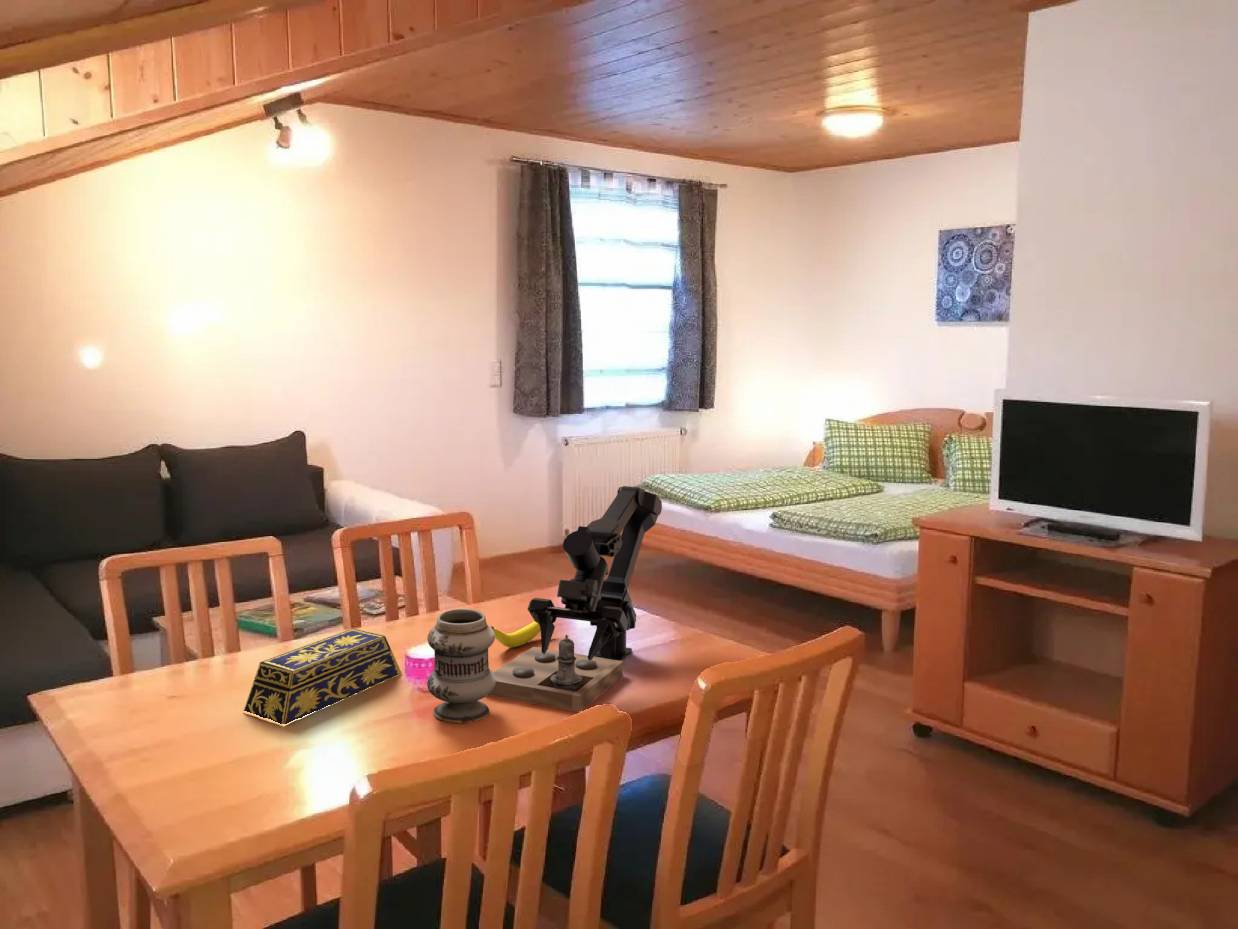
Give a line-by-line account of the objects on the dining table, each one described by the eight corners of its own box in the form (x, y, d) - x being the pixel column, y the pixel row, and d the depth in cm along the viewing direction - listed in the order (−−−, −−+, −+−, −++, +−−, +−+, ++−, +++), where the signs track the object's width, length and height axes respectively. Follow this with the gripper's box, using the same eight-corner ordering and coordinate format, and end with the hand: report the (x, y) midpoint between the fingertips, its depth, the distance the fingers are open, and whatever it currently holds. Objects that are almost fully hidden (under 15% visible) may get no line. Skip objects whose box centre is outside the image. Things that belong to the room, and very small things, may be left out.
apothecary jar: (439, 731, 169) (438, 629, 166) (419, 706, 180) (417, 610, 177) (505, 719, 175) (505, 620, 172) (482, 695, 185) (482, 602, 182)
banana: (555, 634, 221) (555, 607, 220) (496, 657, 205) (496, 628, 205) (545, 632, 222) (545, 604, 221) (486, 654, 207) (486, 625, 206)
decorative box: (402, 676, 196) (402, 632, 194) (283, 729, 170) (281, 679, 168) (362, 665, 201) (361, 622, 199) (240, 716, 175) (238, 667, 174)
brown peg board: (533, 660, 204) (533, 644, 203) (622, 675, 196) (623, 658, 196) (483, 694, 186) (483, 675, 185) (579, 712, 178) (580, 693, 177)
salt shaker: (570, 704, 181) (571, 641, 180) (544, 698, 184) (544, 636, 182) (587, 694, 186) (588, 633, 185) (561, 688, 189) (561, 627, 188)
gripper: (531, 556, 189) (506, 629, 181) (624, 566, 183) (603, 642, 175) (547, 586, 198) (524, 657, 189) (636, 596, 192) (617, 670, 183)
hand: (565, 656), depth 184 cm, fingers open, 9 cm apart
